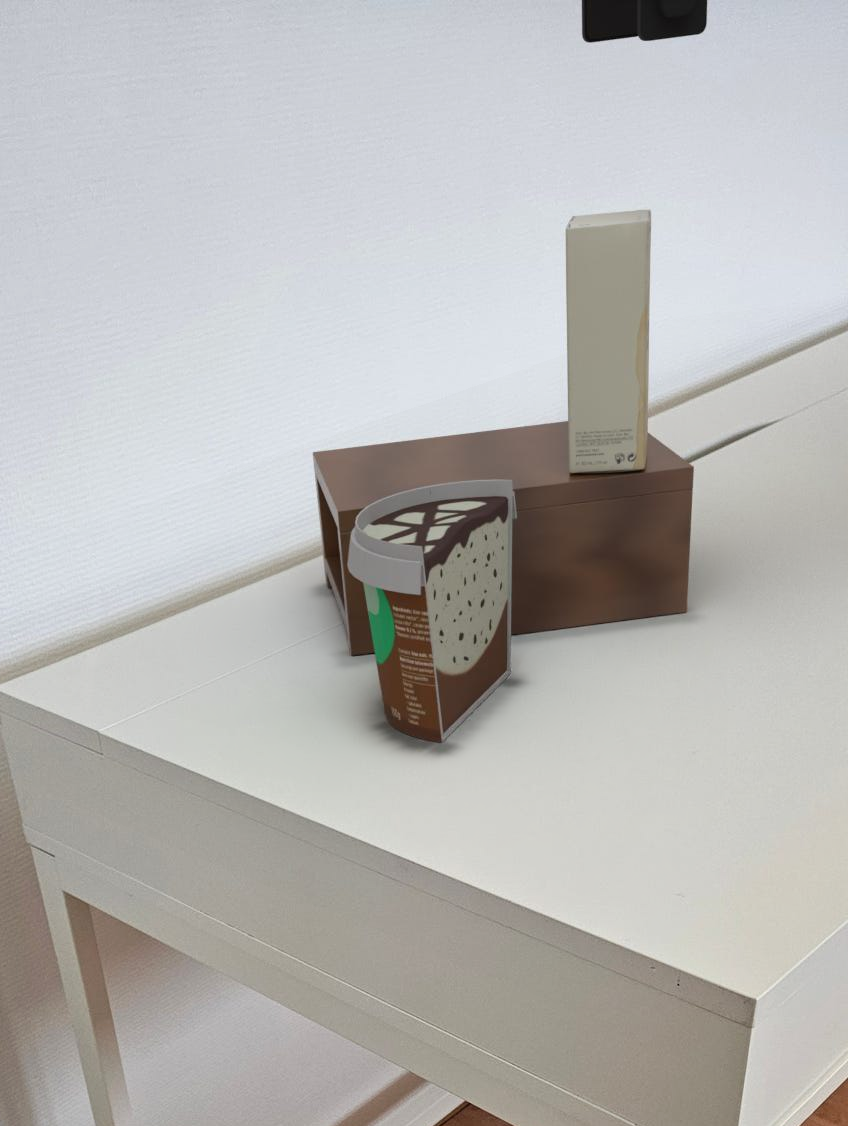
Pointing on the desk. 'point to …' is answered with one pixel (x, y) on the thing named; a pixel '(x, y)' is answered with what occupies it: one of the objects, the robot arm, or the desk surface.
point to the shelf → (530, 523)
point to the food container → (437, 599)
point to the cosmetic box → (608, 340)
